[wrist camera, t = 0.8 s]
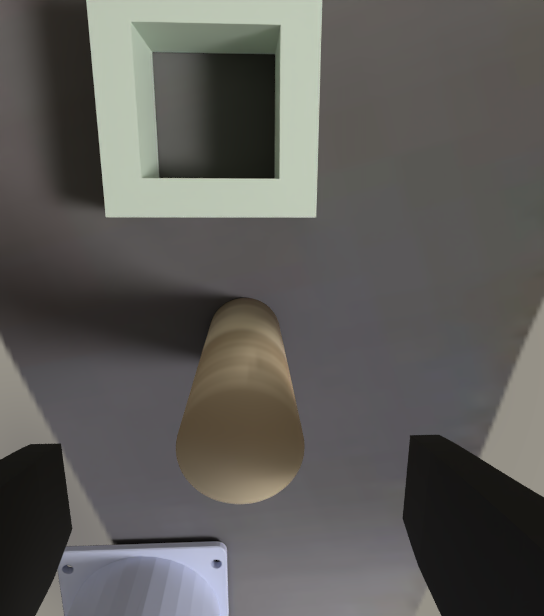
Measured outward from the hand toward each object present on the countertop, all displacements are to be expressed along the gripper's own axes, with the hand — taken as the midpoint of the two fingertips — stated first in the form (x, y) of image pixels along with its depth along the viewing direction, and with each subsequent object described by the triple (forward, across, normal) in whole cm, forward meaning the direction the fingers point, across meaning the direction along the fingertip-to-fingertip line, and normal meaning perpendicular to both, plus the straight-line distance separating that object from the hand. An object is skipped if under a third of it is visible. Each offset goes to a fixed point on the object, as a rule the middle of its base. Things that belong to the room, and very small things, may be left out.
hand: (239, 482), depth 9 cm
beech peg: (+10, 0, 0) cm, 10 cm away
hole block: (+10, +1, -8) cm, 13 cm away
